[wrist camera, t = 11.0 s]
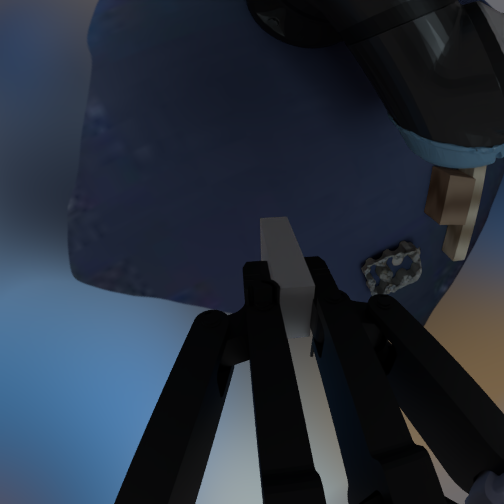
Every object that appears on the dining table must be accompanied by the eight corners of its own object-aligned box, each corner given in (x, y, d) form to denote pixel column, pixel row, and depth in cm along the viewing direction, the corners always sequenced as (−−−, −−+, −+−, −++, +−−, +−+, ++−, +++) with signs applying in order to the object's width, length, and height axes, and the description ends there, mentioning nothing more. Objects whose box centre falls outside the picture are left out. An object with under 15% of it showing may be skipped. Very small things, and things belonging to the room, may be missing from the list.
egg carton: (411, 234, 47) (423, 245, 43) (415, 267, 50) (426, 280, 47) (357, 259, 48) (366, 272, 45) (366, 291, 52) (374, 305, 48)
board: (464, 120, 37) (479, 125, 33) (475, 123, 37) (490, 128, 33) (441, 249, 49) (453, 261, 45) (452, 248, 49) (464, 259, 45)
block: (432, 165, 41) (450, 175, 36) (457, 169, 41) (475, 179, 37) (423, 211, 45) (439, 224, 40) (448, 212, 45) (464, 225, 41)
